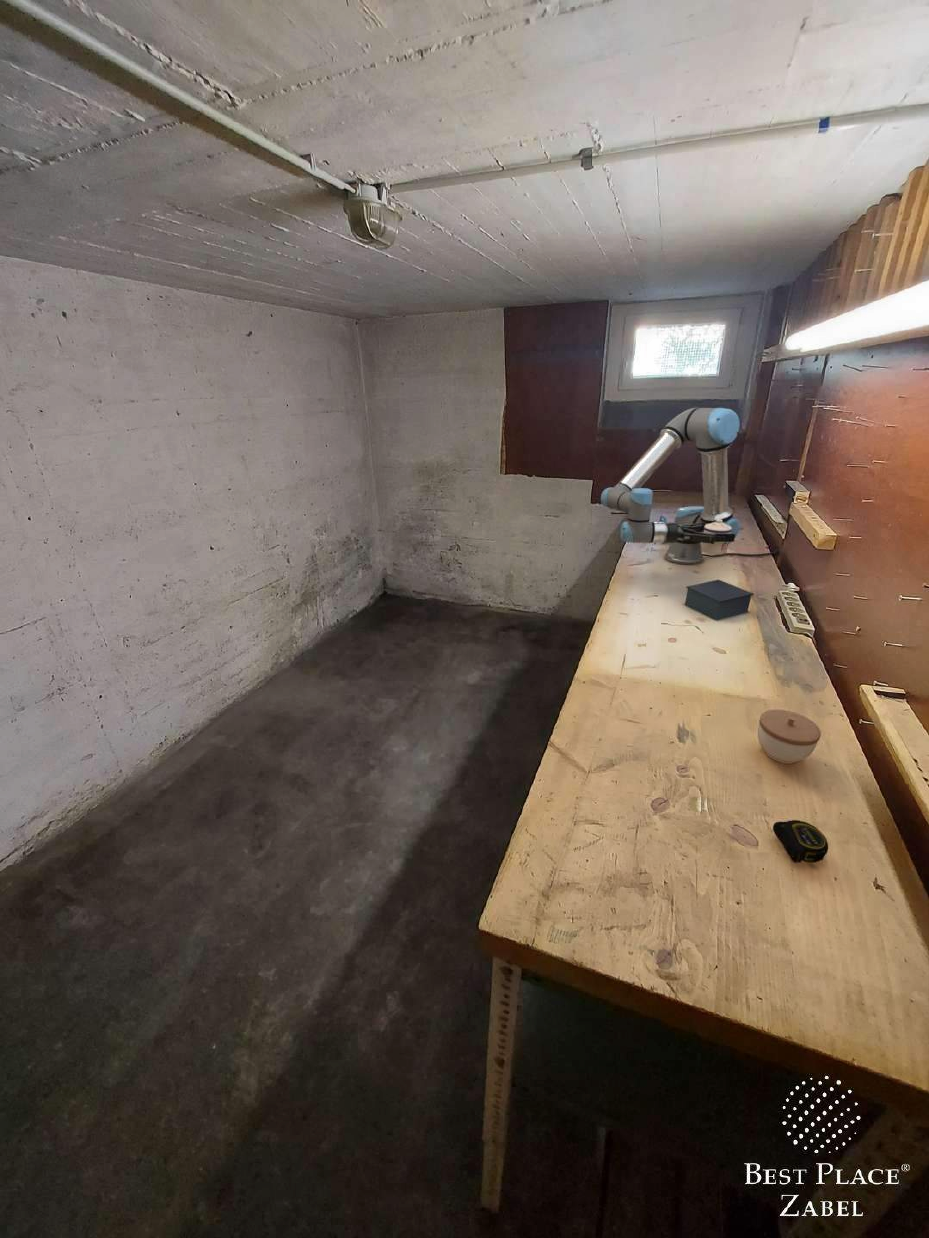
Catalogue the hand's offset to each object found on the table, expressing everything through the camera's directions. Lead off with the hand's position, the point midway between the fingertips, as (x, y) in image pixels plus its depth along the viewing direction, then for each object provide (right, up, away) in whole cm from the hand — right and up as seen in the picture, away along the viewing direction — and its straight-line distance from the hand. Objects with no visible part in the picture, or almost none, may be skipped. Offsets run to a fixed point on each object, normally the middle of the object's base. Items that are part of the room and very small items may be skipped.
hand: (728, 533), depth 173 cm
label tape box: (+5, +8, +68) cm, 68 cm away
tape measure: (-39, -71, -91) cm, 122 cm away
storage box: (-7, -27, -5) cm, 29 cm away
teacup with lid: (-4, -6, +4) cm, 8 cm away
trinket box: (-27, -60, -70) cm, 96 cm away
